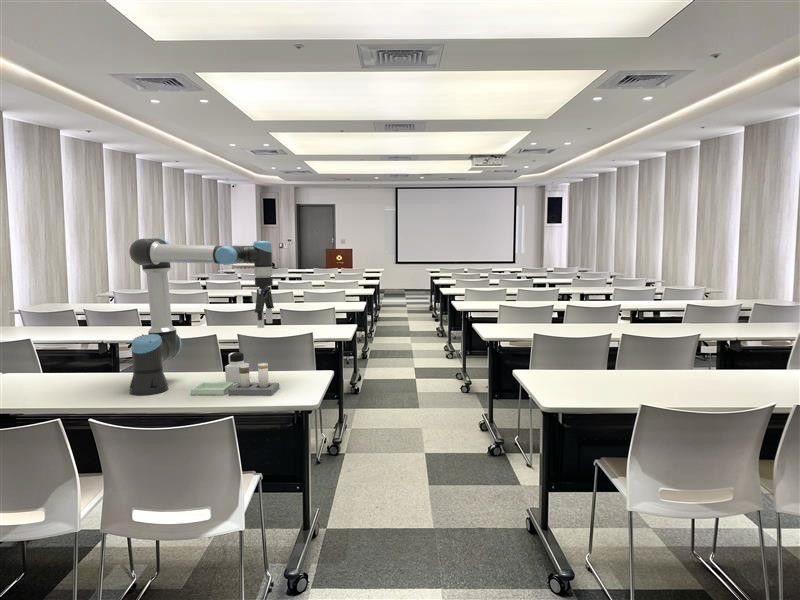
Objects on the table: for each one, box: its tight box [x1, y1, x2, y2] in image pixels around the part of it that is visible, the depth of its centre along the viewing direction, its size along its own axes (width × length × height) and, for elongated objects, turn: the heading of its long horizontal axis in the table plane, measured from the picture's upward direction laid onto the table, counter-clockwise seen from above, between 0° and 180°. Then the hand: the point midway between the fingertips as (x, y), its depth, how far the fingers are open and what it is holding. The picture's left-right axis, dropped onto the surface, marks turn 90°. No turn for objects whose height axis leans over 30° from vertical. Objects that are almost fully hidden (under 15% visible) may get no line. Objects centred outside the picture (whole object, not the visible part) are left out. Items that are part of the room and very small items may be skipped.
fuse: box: [257, 362, 269, 388], centre depth 244 cm, size 4×4×12 cm
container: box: [224, 351, 245, 384], centre depth 263 cm, size 8×8×13 cm
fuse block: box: [227, 382, 280, 397], centre depth 244 cm, size 18×12×2 cm, turn 87°
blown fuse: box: [239, 362, 251, 388], centre depth 244 cm, size 4×4×12 cm
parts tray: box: [189, 381, 235, 397], centre depth 245 cm, size 14×12×2 cm
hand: (265, 325), depth 254 cm, fingers open, 13 cm apart
